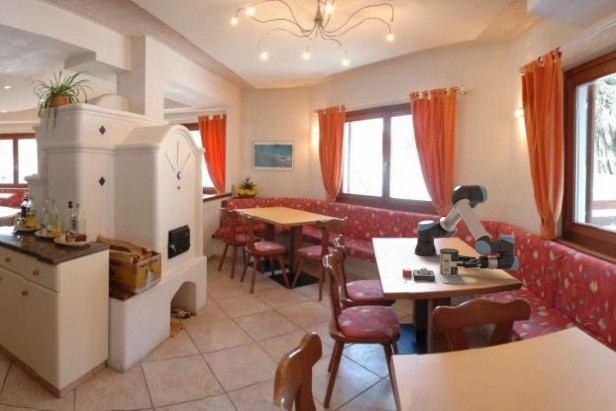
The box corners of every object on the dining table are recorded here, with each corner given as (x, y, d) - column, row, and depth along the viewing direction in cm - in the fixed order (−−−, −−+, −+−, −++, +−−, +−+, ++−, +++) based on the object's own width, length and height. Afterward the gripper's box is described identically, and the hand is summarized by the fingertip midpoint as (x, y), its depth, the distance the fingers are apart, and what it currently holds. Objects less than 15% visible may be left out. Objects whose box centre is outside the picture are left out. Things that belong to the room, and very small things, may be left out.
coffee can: (456, 271, 212) (456, 248, 211) (459, 276, 202) (460, 252, 201) (437, 270, 214) (438, 247, 213) (440, 275, 204) (441, 252, 203)
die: (402, 275, 207) (402, 268, 206) (409, 275, 207) (409, 268, 206) (404, 277, 203) (404, 270, 202) (411, 277, 203) (411, 270, 202)
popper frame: (412, 274, 208) (412, 269, 208) (432, 275, 206) (432, 270, 205) (414, 280, 197) (414, 275, 197) (435, 281, 195) (435, 276, 195)
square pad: (439, 276, 203) (439, 275, 203) (461, 277, 201) (461, 276, 201) (442, 283, 192) (442, 282, 192) (466, 284, 189) (466, 283, 189)
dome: (418, 273, 204) (418, 266, 204) (427, 274, 203) (428, 266, 203) (419, 276, 199) (419, 268, 199) (428, 277, 198) (429, 269, 198)
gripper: (493, 275, 191) (451, 273, 195) (481, 262, 215) (444, 261, 220) (494, 261, 190) (452, 260, 195) (481, 250, 214) (444, 249, 219)
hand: (447, 260), depth 207 cm, fingers open, 13 cm apart
